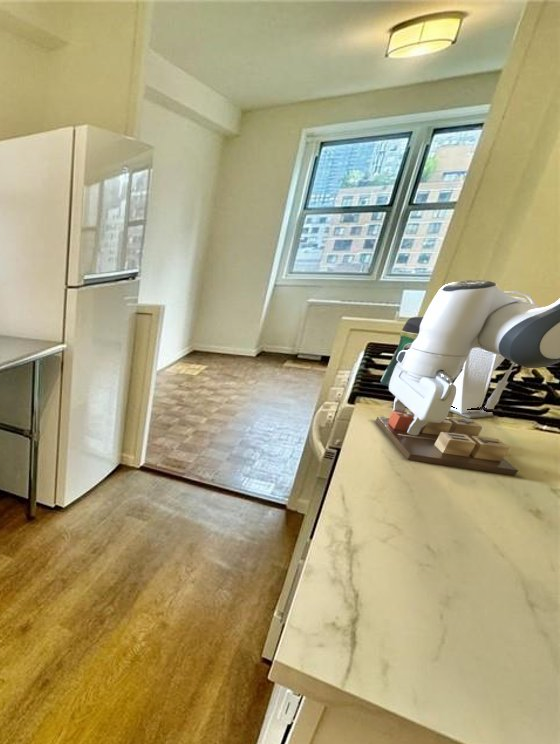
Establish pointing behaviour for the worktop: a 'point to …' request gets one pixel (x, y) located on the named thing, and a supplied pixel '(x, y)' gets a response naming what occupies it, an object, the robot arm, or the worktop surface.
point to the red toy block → (400, 419)
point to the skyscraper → (480, 379)
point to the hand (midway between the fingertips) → (403, 425)
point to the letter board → (438, 451)
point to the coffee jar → (403, 345)
